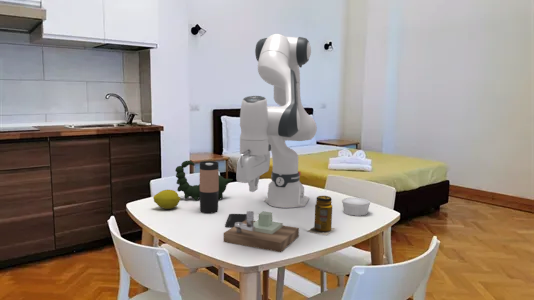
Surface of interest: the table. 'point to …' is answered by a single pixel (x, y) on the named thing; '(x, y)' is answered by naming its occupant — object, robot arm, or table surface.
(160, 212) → the table surface
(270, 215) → the cover
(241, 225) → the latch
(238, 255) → the table surface
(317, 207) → the condiment
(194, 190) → the toy figurine
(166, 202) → the lemon
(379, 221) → the table surface
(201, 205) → the travel mug
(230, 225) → the phone
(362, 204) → the ramekin
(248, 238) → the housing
